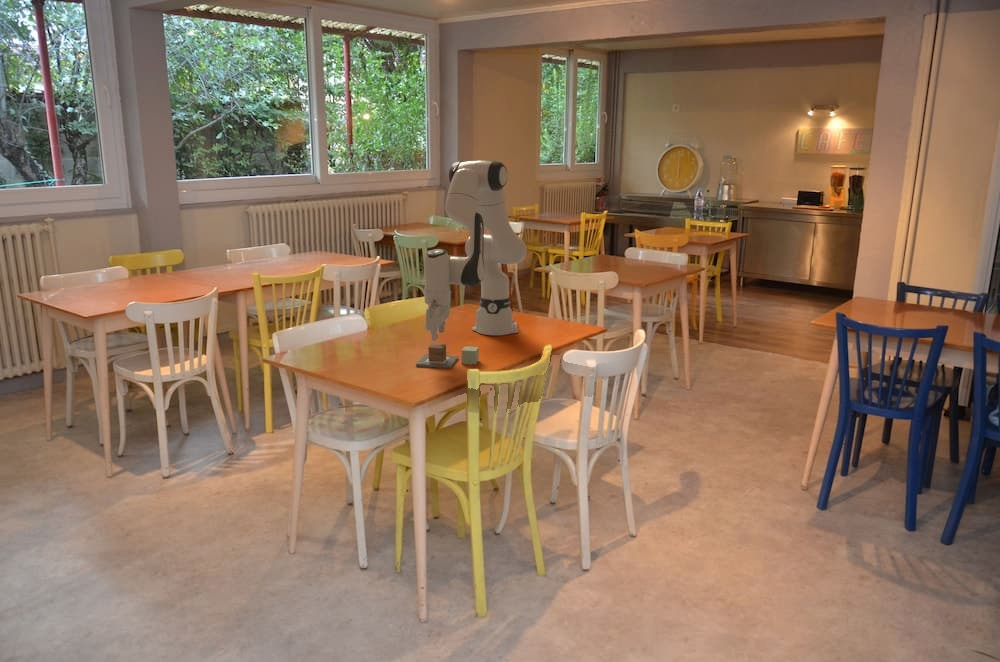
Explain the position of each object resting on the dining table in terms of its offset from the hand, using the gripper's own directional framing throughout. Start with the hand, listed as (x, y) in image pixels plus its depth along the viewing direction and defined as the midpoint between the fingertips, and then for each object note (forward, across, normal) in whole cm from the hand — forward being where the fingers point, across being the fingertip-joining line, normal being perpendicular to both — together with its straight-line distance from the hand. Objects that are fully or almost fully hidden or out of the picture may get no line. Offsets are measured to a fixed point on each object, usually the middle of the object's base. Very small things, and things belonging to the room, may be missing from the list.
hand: (438, 336), depth 270 cm
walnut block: (+8, -1, 0) cm, 8 cm away
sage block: (+10, +2, -11) cm, 15 cm away
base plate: (+9, -1, 0) cm, 9 cm away
